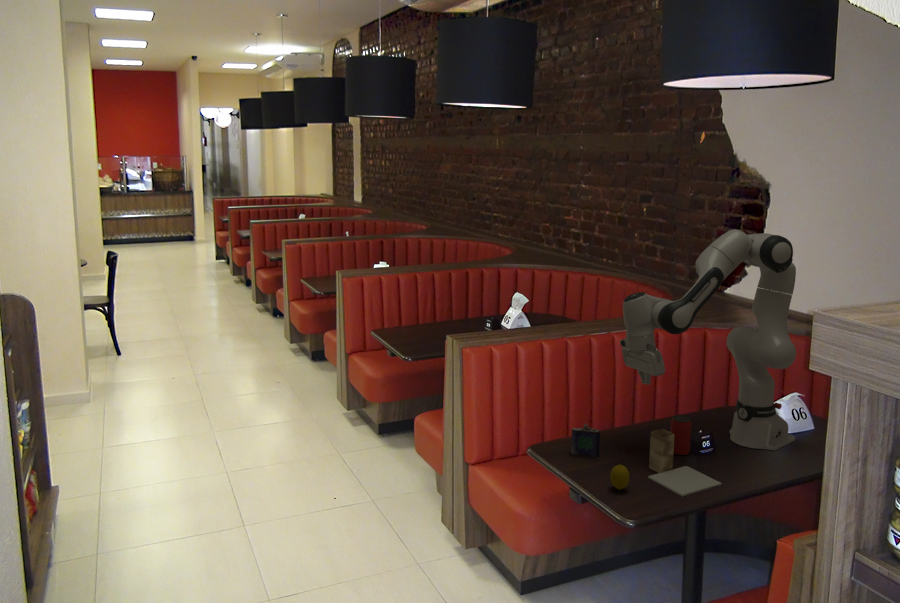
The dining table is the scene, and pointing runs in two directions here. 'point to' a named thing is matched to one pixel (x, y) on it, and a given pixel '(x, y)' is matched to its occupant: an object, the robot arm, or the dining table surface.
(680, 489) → the grey mat
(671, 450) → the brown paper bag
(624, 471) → the lemon
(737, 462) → the dining table surface
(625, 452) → the dining table surface
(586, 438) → the flask
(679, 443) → the beer can
